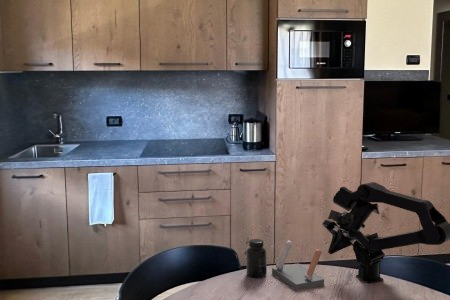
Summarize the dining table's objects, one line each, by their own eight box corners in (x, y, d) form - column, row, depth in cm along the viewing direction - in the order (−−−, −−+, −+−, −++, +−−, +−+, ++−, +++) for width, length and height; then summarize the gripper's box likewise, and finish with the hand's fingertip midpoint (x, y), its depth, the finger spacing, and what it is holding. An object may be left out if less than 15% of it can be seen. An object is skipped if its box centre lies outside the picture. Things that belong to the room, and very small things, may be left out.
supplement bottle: (265, 271, 160) (265, 237, 159) (267, 278, 154) (268, 243, 152) (245, 271, 160) (245, 237, 159) (247, 278, 153) (247, 244, 152)
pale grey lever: (279, 268, 158) (290, 240, 158) (283, 271, 155) (294, 242, 156) (274, 266, 157) (285, 239, 157) (277, 269, 155) (289, 240, 155)
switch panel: (298, 268, 162) (298, 263, 162) (324, 285, 148) (324, 279, 148) (272, 273, 158) (272, 267, 158) (296, 290, 144) (296, 284, 144)
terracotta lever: (308, 278, 149) (319, 249, 149) (312, 281, 146) (324, 251, 147) (302, 277, 148) (314, 247, 148) (307, 279, 146) (319, 249, 146)
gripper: (326, 196, 159) (299, 231, 156) (361, 206, 141) (331, 246, 138) (345, 216, 162) (319, 250, 159) (382, 228, 145) (352, 268, 142)
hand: (329, 253), depth 150 cm, fingers closed
